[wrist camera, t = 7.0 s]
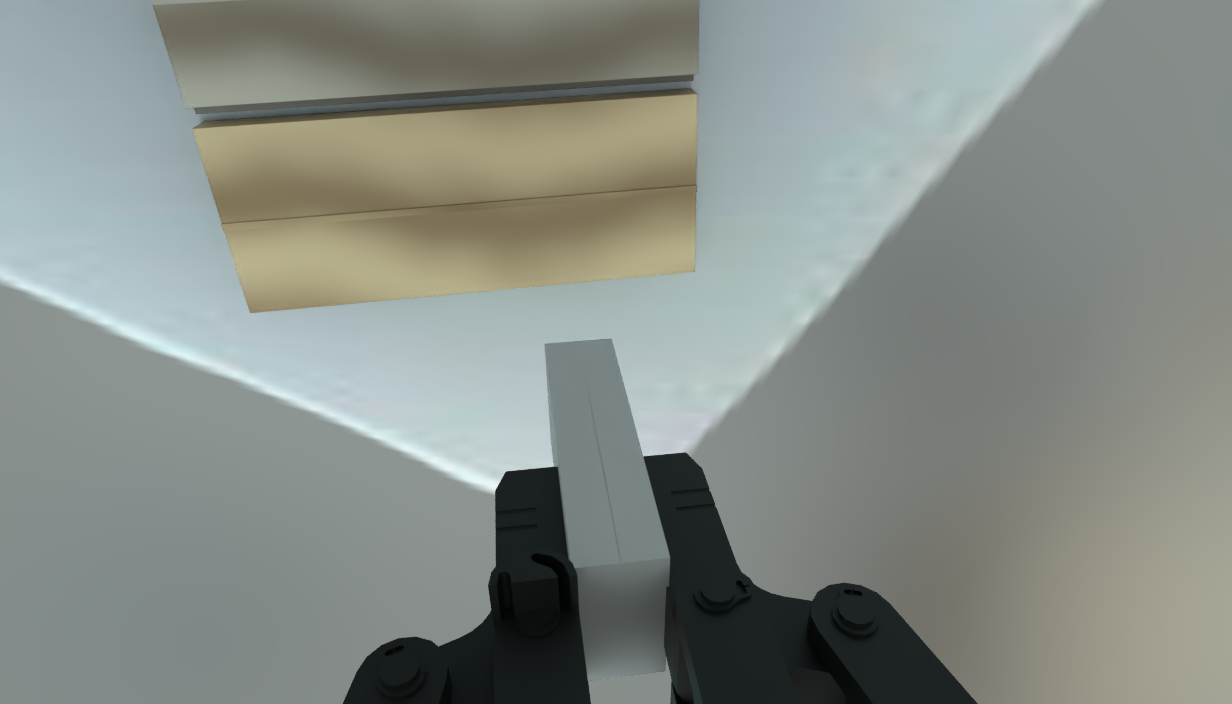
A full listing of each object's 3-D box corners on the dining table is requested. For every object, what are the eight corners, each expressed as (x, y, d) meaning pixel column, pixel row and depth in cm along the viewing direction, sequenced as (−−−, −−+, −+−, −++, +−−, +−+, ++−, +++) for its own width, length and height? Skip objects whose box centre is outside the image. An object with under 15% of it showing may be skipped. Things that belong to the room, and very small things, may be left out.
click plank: (202, 121, 30) (191, 129, 29) (691, 88, 32) (698, 94, 31) (257, 301, 34) (249, 313, 33) (689, 261, 36) (695, 272, 35)
